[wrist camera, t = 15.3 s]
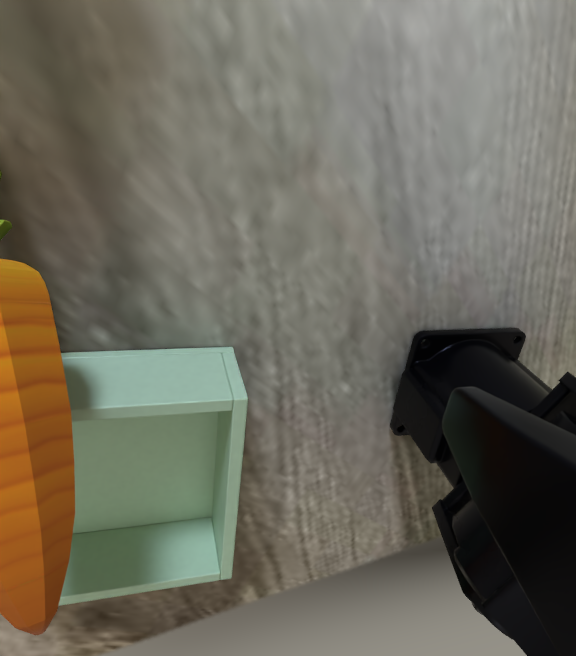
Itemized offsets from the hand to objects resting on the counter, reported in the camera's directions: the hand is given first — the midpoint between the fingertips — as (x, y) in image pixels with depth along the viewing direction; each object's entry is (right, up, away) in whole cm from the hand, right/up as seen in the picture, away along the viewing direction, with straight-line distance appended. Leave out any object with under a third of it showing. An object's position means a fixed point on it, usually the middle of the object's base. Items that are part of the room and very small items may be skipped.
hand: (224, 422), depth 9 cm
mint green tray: (-8, -4, +16) cm, 18 cm away
